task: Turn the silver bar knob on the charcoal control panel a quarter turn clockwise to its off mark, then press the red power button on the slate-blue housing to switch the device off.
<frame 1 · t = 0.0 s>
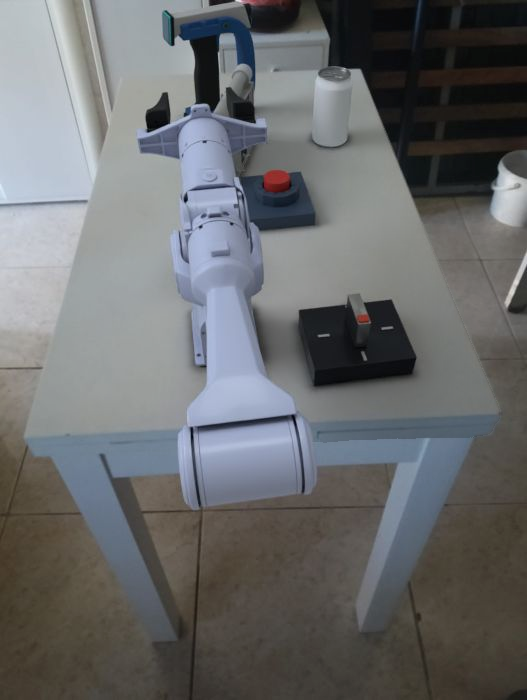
hand: (197, 97, 70), 22 cm above the table, tool horizontal, fingers open, 7 cm apart
handheld scanner: (216, 119, 112), on the table
button box: (276, 206, 92), on the table
dial: (357, 319, 67), point 5 cm above the table, hinge at 90.0°
geiger counter: (235, 160, 102), on the table
can: (329, 140, 106), on the table
power button: (276, 181, 88), point 4 cm above the table, slide at 0.1 cm
control panel: (353, 349, 71), on the table
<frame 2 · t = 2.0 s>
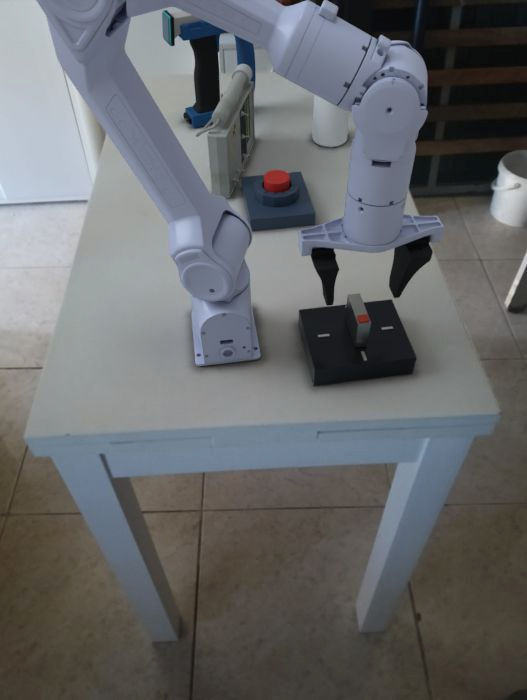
hand: (361, 295, 64), 9 cm above the table, tool pointing down, fingers open, 7 cm apart
nothing on the table moved.
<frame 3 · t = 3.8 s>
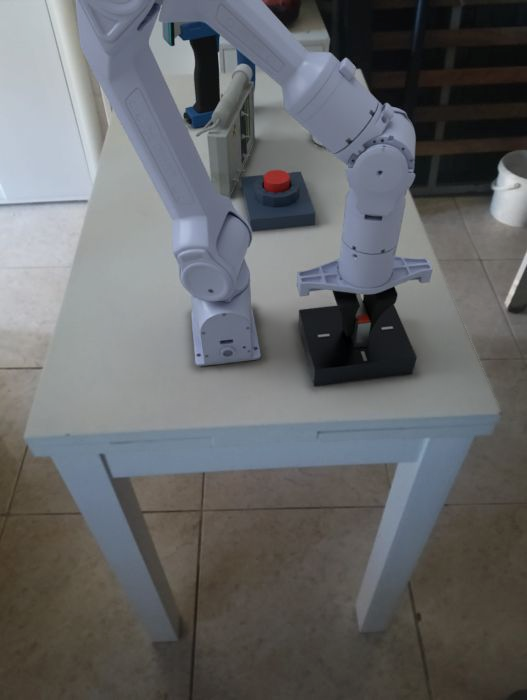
hand: (356, 329, 68), 4 cm above the table, tool pointing down, fingers closed on dial
dial: (357, 319, 67), point 5 cm above the table, hinge at 90.0°, touching gripper
everything else where it was.
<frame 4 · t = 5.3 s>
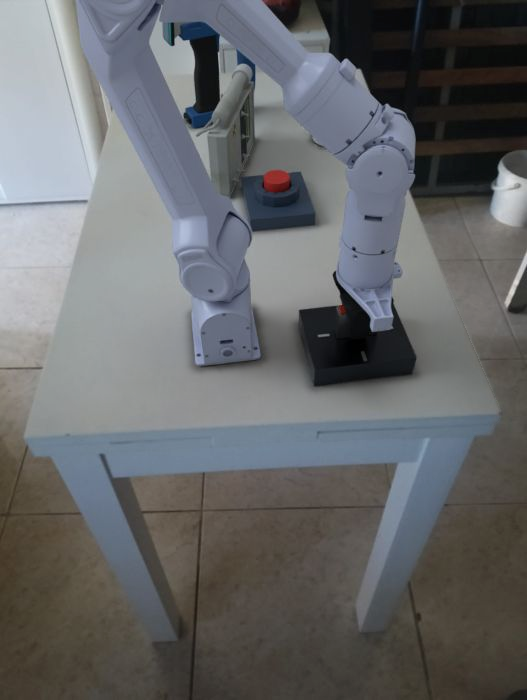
hand: (356, 330, 68), 3 cm above the table, tool pointing down, fingers closed on dial, 2 cm apart
dial: (357, 319, 67), point 5 cm above the table, hinge at 0.1°, touching gripper
everything else where it was.
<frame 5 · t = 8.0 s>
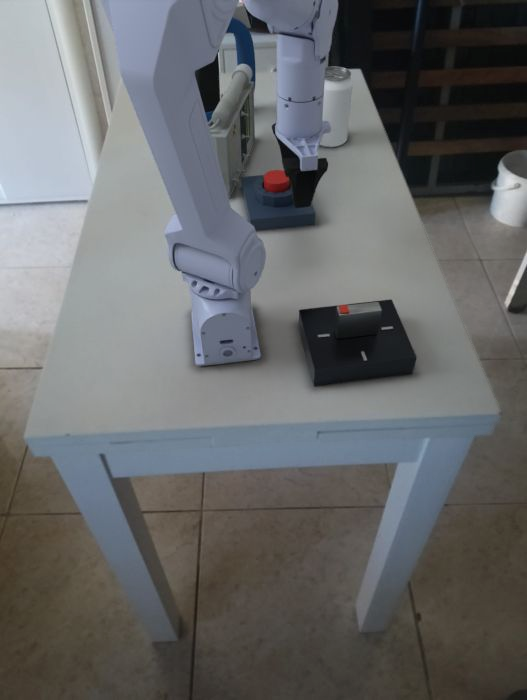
hand: (297, 190, 79), 9 cm above the table, tool pointing down, fingers open, 7 cm apart
dial: (357, 319, 67), point 5 cm above the table, hinge at 0.1°
everything else where it was.
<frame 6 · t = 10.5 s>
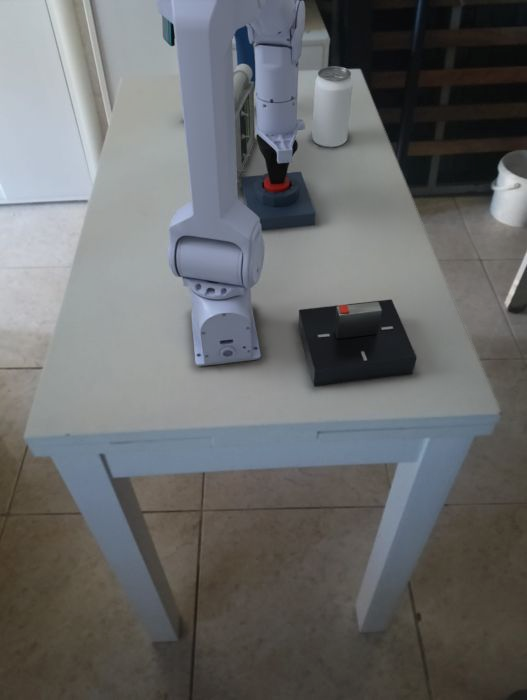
hand: (276, 181, 88), 4 cm above the table, tool pointing down, fingers closed, pressing on power button
power button: (276, 186, 89), point 4 cm above the table, slide at -0.8 cm, touching gripper
everything else where it was.
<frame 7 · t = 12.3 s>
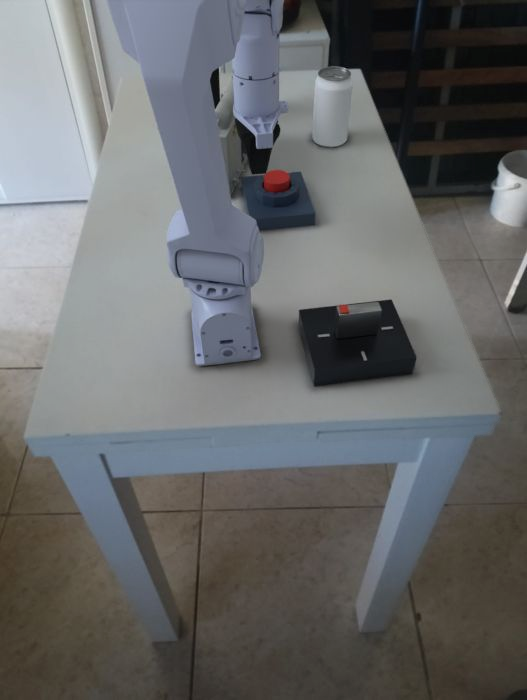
hand: (258, 171, 79), 10 cm above the table, tool pointing down, fingers closed
power button: (276, 181, 88), point 4 cm above the table, slide at 0.1 cm
everything else where it was.
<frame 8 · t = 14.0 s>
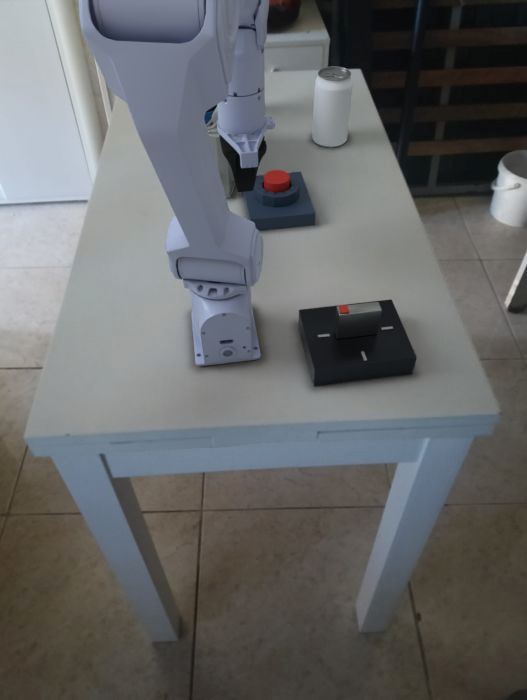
hand: (244, 188, 76), 10 cm above the table, tool pointing down, fingers closed
nothing on the table moved.
at the end: dial at +0° (first picture: +90°); power button pushed in 1.2 cm at the most during the clip, back to where it started at the end; power button slide at 0.1 cm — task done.
